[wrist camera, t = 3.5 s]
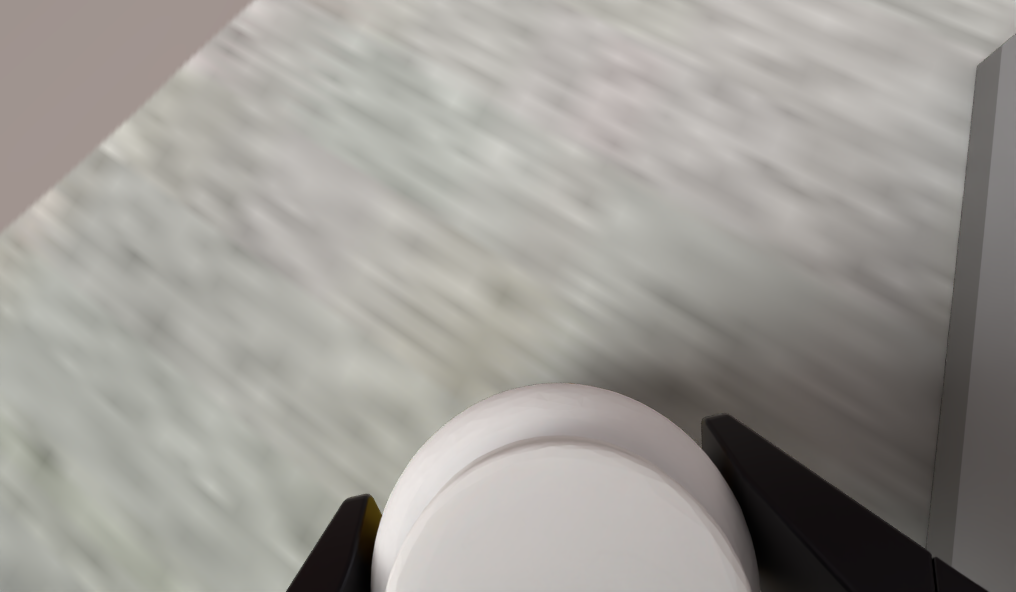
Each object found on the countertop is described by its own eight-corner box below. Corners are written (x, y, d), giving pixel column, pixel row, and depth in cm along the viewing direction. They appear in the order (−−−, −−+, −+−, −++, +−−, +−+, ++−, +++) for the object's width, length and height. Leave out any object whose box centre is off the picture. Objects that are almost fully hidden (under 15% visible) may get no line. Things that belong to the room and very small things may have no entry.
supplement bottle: (451, 614, 15) (272, 963, 5) (454, 401, 17) (314, 367, 7) (664, 618, 15) (893, 999, 5) (652, 400, 16) (817, 362, 6)
